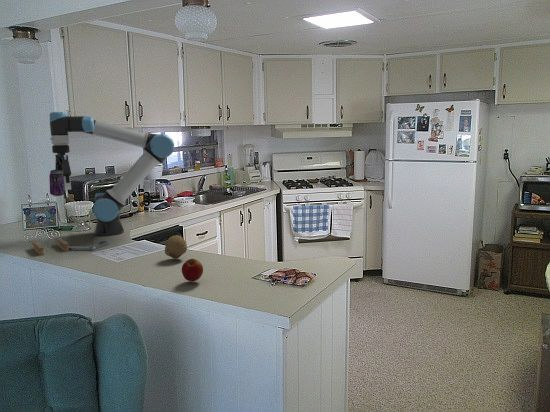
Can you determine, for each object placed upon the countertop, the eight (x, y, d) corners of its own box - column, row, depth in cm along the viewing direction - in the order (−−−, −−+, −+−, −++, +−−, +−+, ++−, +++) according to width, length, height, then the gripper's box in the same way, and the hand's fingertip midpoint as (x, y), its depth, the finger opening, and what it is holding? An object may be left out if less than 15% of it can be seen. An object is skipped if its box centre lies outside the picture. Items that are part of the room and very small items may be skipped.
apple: (177, 282, 162) (176, 260, 161) (193, 276, 169) (192, 255, 168) (192, 285, 158) (191, 263, 157) (208, 279, 165) (207, 257, 164)
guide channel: (60, 244, 221) (59, 237, 221) (68, 251, 209) (68, 243, 208) (32, 248, 214) (32, 241, 214) (40, 255, 202) (39, 247, 201)
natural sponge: (192, 257, 194) (191, 234, 193) (177, 262, 187) (175, 238, 185) (177, 254, 199) (176, 232, 198) (161, 259, 192) (160, 236, 191)
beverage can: (58, 198, 223) (57, 174, 219) (46, 194, 225) (45, 171, 221) (68, 194, 230) (68, 171, 225) (57, 190, 232) (57, 168, 227)
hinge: (113, 247, 215) (113, 244, 215) (71, 253, 204) (71, 251, 203) (106, 243, 223) (106, 240, 223) (65, 249, 212) (65, 246, 212)
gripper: (46, 144, 227) (50, 187, 231) (58, 145, 208) (62, 191, 211) (62, 144, 232) (66, 185, 235) (75, 144, 213) (79, 190, 216)
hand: (64, 188), depth 223 cm, fingers open, 13 cm apart
